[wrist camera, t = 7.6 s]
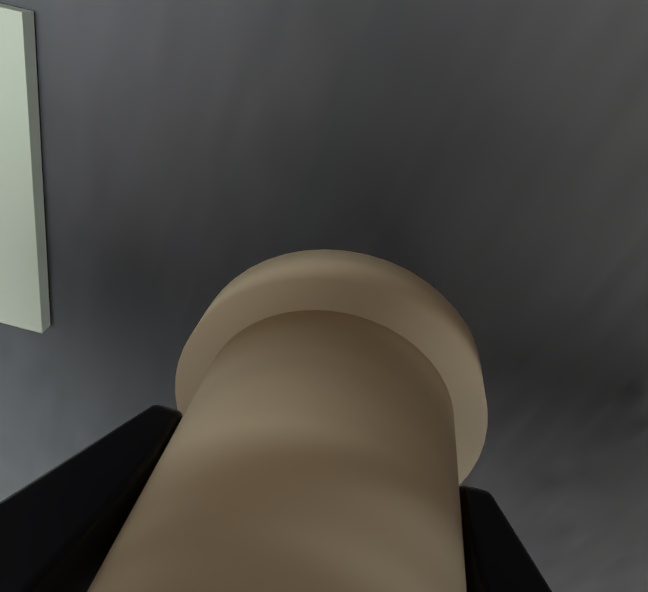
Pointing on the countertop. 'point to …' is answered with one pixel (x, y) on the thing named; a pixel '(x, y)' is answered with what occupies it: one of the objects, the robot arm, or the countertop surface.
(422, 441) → the pawn
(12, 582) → the robot arm
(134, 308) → the countertop surface
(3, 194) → the pad
